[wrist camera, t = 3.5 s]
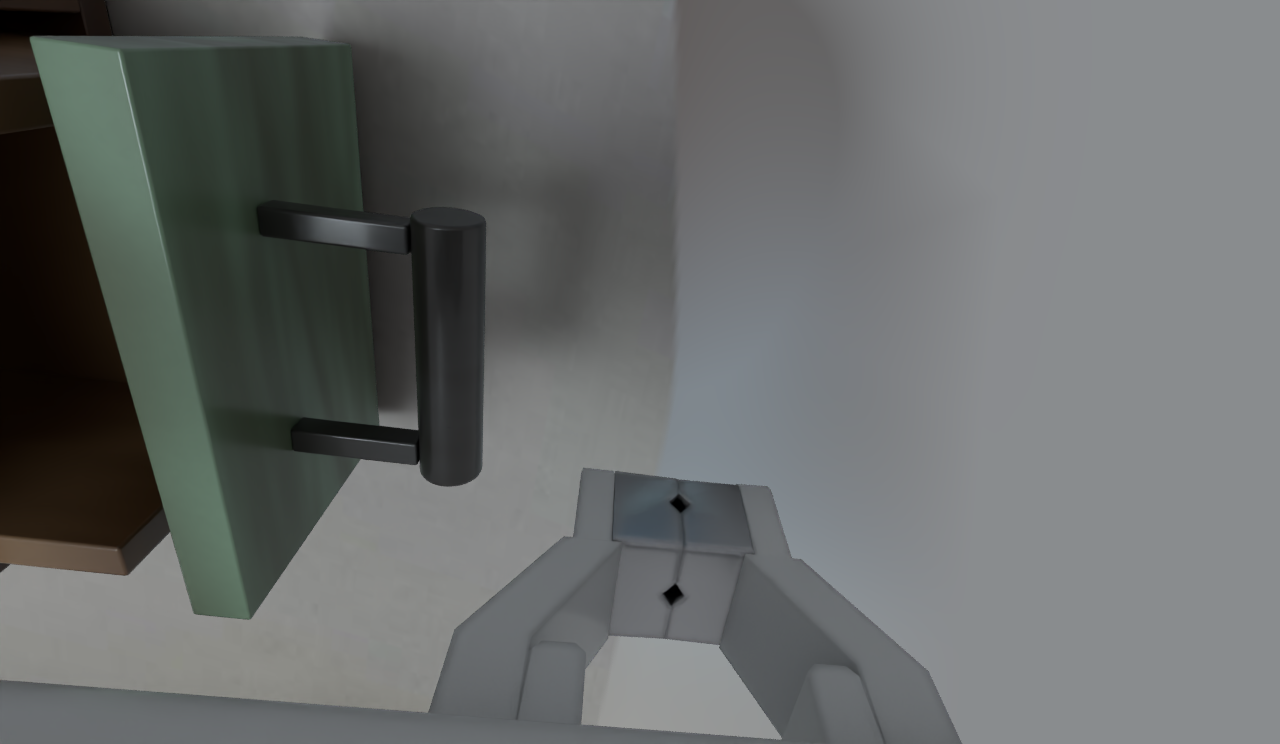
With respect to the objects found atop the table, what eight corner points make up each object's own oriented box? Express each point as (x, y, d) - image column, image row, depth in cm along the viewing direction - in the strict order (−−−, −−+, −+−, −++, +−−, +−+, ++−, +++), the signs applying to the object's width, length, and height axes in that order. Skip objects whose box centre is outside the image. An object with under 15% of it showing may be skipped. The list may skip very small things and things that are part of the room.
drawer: (531, 69, 15) (441, 94, 9) (514, 446, 20) (450, 640, 14) (-262, -45, 14) (-1030, -116, 8) (-69, 379, 19) (-434, 552, 13)
